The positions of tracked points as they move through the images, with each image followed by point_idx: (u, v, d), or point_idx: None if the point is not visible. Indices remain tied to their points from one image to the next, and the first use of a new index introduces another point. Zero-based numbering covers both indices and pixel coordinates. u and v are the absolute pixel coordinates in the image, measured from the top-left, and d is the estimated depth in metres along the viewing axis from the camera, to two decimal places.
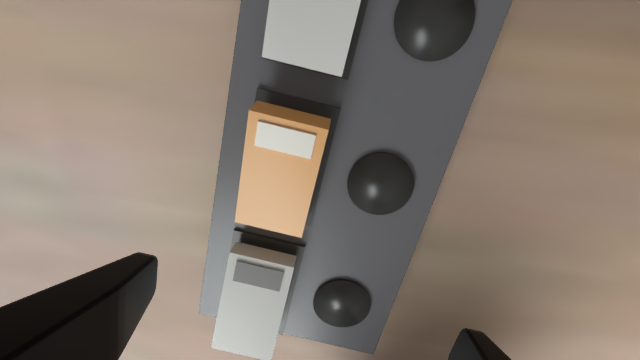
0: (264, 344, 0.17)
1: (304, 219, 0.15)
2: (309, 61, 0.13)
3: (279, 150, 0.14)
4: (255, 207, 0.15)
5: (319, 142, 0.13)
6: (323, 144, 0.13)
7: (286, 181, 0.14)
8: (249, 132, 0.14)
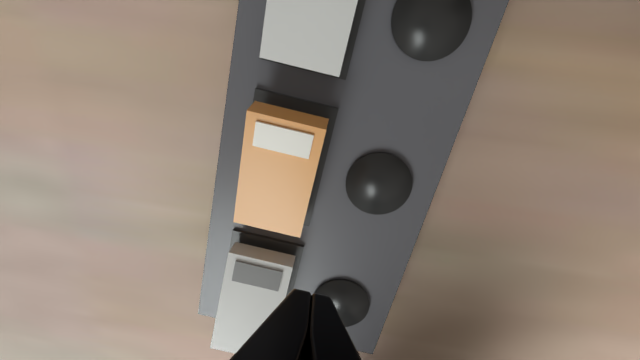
0: None
1: (302, 219, 0.15)
2: (306, 61, 0.13)
3: (277, 150, 0.14)
4: (254, 208, 0.15)
5: (317, 142, 0.13)
6: (321, 144, 0.14)
7: (284, 181, 0.14)
8: (247, 132, 0.14)
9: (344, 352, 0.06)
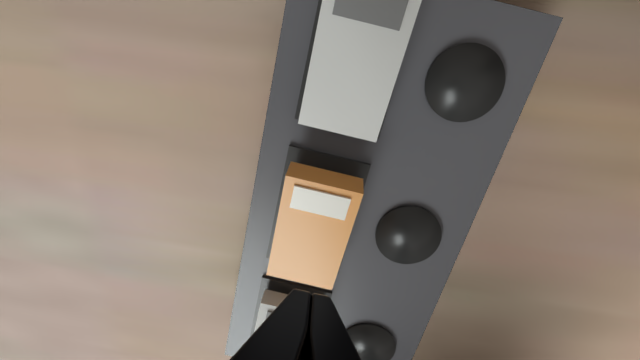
0: None
1: (335, 273, 0.16)
2: (344, 128, 0.13)
3: (314, 211, 0.14)
4: (287, 262, 0.15)
5: (353, 205, 0.14)
6: (357, 206, 0.14)
7: (319, 239, 0.15)
8: (285, 195, 0.14)
9: (344, 352, 0.06)
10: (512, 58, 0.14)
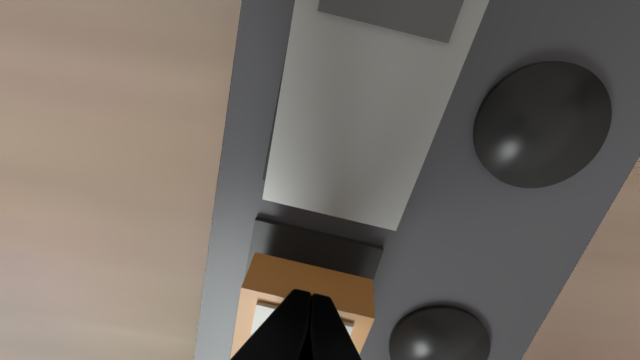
0: None
1: None
2: (342, 207, 0.08)
3: None
4: None
5: (358, 333, 0.08)
6: (364, 336, 0.08)
7: None
8: (243, 316, 0.08)
9: (345, 352, 0.06)
10: (624, 87, 0.08)
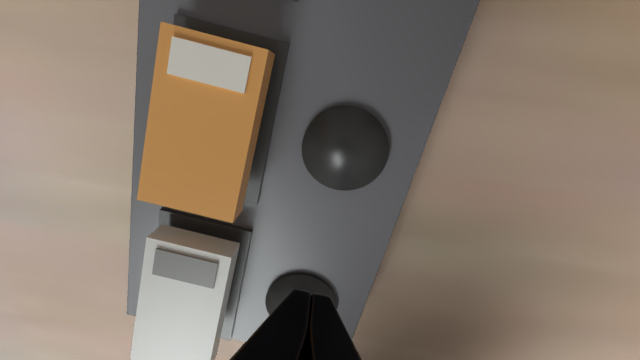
0: (197, 355, 0.14)
1: (236, 191, 0.11)
2: None
3: (202, 81, 0.10)
4: (167, 175, 0.11)
5: (256, 68, 0.10)
6: (261, 72, 0.10)
7: (211, 130, 0.10)
8: (161, 55, 0.10)
9: (344, 352, 0.06)
10: None
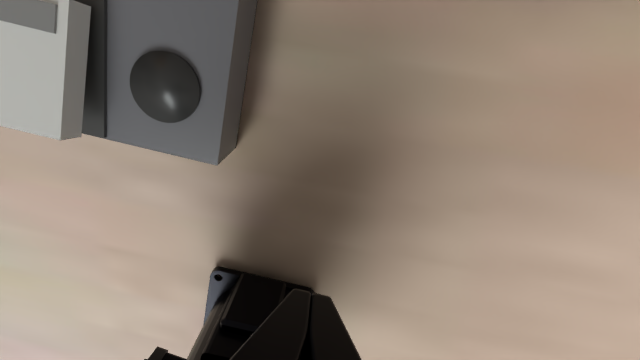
0: (48, 114, 0.14)
1: None
2: None
3: None
4: None
5: None
6: None
7: None
8: None
9: (344, 352, 0.06)
10: None
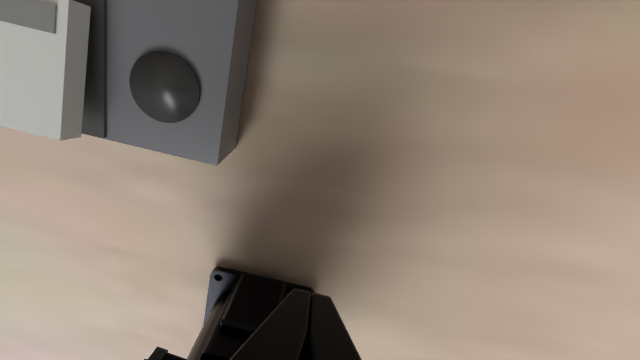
0: (48, 115, 0.14)
1: None
2: None
3: None
4: None
5: None
6: None
7: None
8: None
9: (344, 352, 0.06)
10: None
